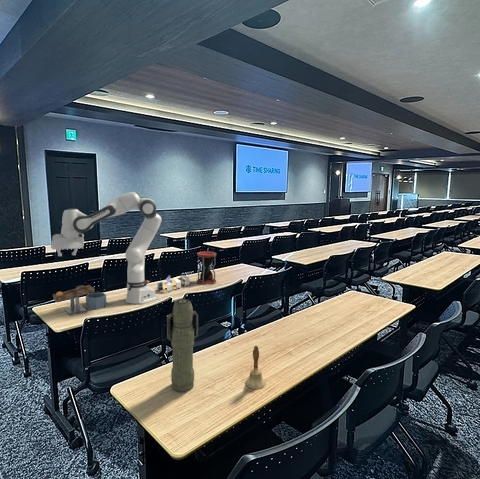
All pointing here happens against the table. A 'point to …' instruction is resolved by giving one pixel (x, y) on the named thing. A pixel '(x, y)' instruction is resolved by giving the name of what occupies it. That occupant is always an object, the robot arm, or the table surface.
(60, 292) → the ball
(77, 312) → the lever stand
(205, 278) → the hourglass
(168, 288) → the diorama
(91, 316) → the table surface
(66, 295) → the lever
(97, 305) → the blue-grey box
